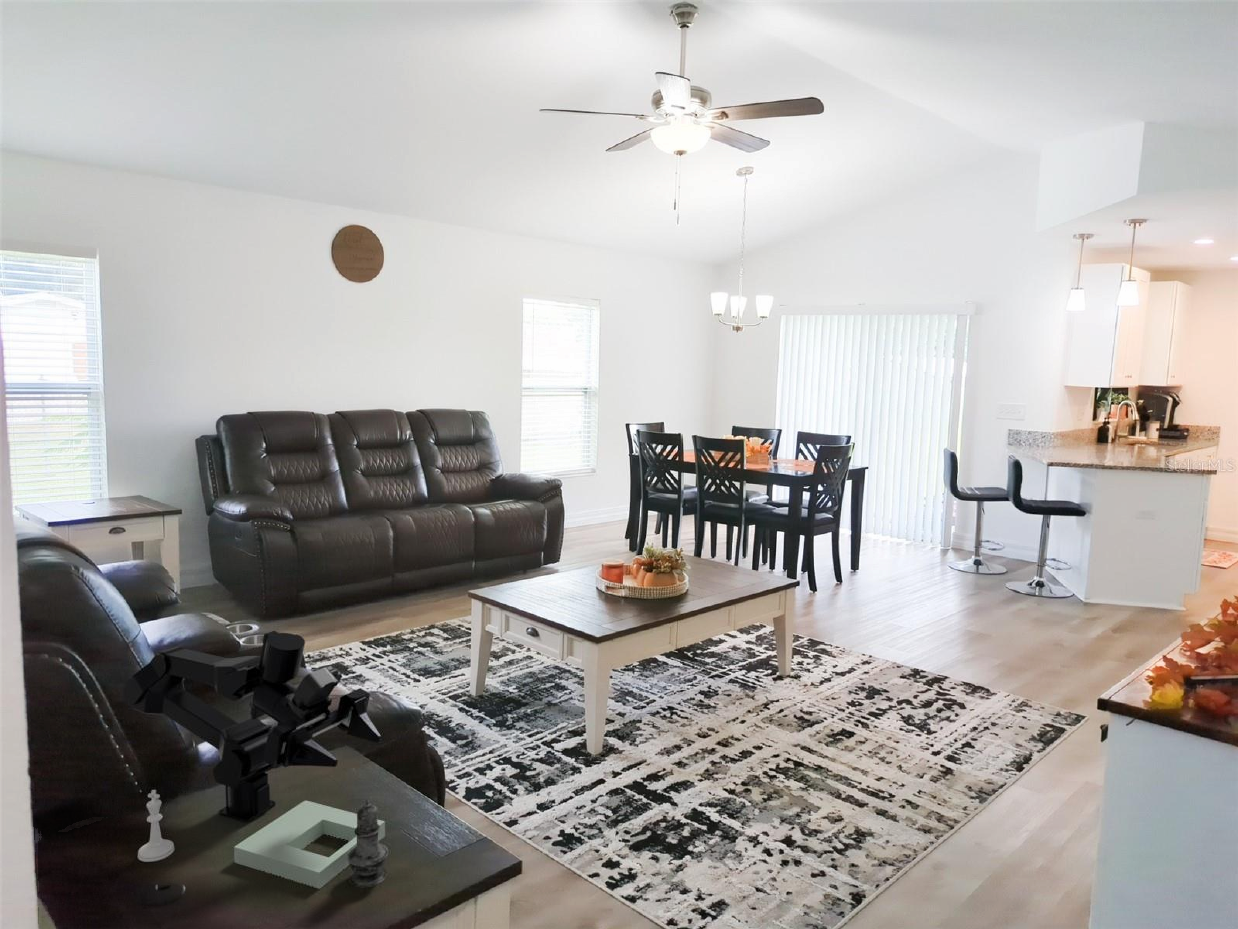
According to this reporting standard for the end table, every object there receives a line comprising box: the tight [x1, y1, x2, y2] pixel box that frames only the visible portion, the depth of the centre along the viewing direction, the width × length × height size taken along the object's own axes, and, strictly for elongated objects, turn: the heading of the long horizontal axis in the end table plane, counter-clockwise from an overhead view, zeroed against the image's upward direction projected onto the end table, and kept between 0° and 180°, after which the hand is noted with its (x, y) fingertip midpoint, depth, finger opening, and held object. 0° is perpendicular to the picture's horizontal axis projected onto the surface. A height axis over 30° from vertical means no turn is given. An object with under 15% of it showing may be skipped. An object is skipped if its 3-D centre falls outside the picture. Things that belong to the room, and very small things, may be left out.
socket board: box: [233, 800, 386, 890], centre depth 131 cm, size 16×15×2 cm
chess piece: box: [137, 789, 175, 863], centre depth 129 cm, size 5×5×10 cm
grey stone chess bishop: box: [347, 798, 389, 889], centre depth 124 cm, size 6×6×12 cm
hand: (359, 751), depth 129 cm, fingers open, 9 cm apart
